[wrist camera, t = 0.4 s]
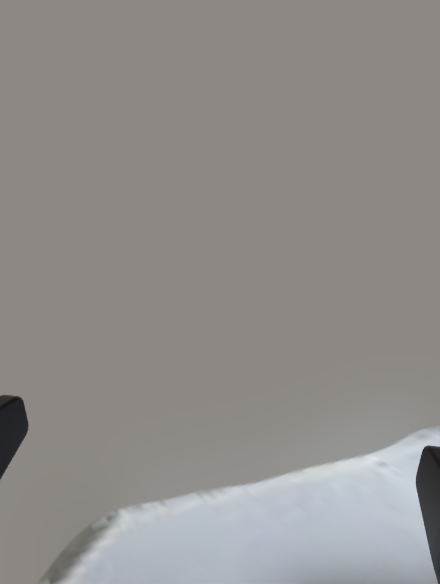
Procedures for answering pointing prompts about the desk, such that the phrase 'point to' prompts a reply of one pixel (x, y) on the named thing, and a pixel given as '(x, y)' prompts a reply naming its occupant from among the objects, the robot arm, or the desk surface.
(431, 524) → the robot arm
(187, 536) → the desk surface
